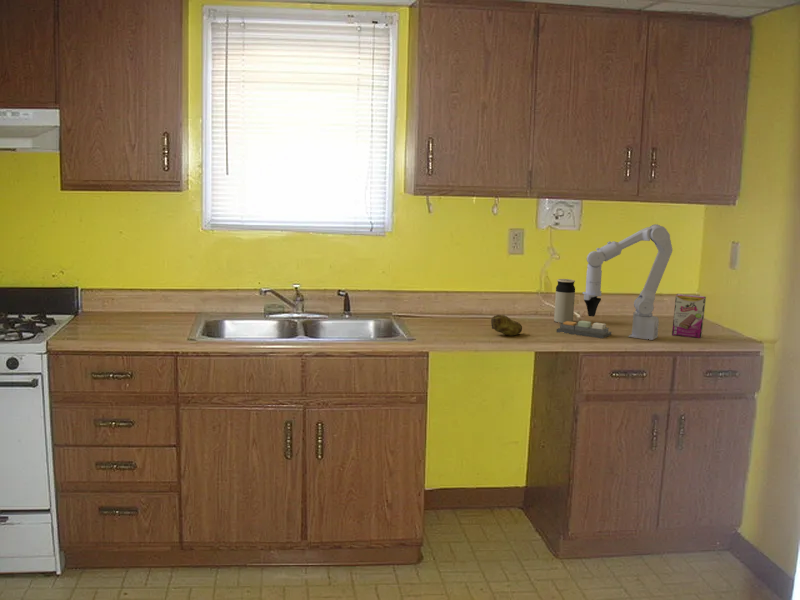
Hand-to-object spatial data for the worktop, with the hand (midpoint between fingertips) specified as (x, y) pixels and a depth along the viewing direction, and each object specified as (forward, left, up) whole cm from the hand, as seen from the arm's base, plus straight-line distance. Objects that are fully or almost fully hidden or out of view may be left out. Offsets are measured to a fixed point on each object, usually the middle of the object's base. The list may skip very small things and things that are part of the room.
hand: (591, 316), depth 324 cm
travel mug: (+18, -18, -8) cm, 27 cm away
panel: (+3, 0, -7) cm, 8 cm away
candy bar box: (-32, -23, -8) cm, 40 cm away
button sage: (+3, 0, -5) cm, 5 cm away
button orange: (+9, 0, -6) cm, 10 cm away
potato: (+25, +24, -8) cm, 36 cm away
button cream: (-3, 0, -5) cm, 6 cm away
